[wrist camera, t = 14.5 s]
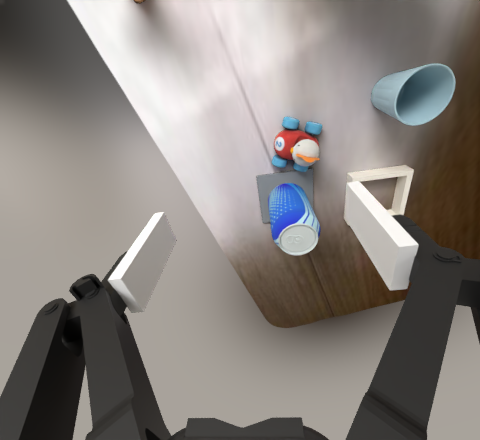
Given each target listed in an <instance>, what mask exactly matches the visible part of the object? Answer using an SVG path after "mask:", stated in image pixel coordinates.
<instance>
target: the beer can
mask: <svg viewBox="0 0 480 440" xmlns="http://www.w3.org/2000/svg"><path fill="white" fill-rule="evenodd" d="M268 207H269V215H270V223H271V231H272V237H273V240H274V242H275V243H276V244H277V245H278V246H279V247H280V248H281V249H282V250H283V251H284V252H285V253H287V254H290V255H303V254H306V253H308V252H310V251H311V250H313V249H314V248H315V246H316V245H317V242H318V238H319V235H320V224H319V222H318V220H317V217H316V215H315V213H314V211H313V209H312V207H311V204H310V202H309V200H308V198H307V196H306V194H305V192H304V190H303V189H302V188H301V187H300V186H298V185H297V184H293V183H284V184H281V185H278V186H277V187H275V188H274V189H273V190H272V191H271V193H270V194H269V197H268Z"/></svg>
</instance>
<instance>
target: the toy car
mask: <svg viewBox="0 0 480 440" xmlns="http://www.w3.org/2000/svg"><path fill="white" fill-rule="evenodd" d="M298 125H299V120H298V119H295V118H292V117H284V119H283V123H282V126H283V127H285V128H288V129H285V130H283V131H281V132H280V133H279V134H278V135H277V136H276V138H275V140H274V149H275V151H276V153H277V154H278V155H275V156H274V157H273V160H272V164H273V165H274V166H277V167H281V168H283V167H285V166H286V164H287V159H289V160H294V161H295V162H294V165H293V168H294V169H295V170H297V171H300V172H306V171H307V170H308V167H309V166H310V165H312V164H314V163H315V162H316V161H317V160H320V159H319V158H318V157H319V154H320V150H319V143H318V140H317V139H316V137H315V136H313V135H312V134H315V135H319V134H320V132H321V129H322V125H321V124H319V123H315V122H307V123H306V126H305V132H304V131H300V130H296V129H297V128H298Z"/></svg>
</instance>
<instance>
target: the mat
mask: <svg viewBox="0 0 480 440" xmlns="http://www.w3.org/2000/svg"><path fill="white" fill-rule="evenodd" d="M256 178H257V185H258V192H259V200H260V207H261V214H262V221H263V223H268V222H270V215H269V207H268V197H269V194H270V193H271V191H272V190H273V189H274V188H275V187H277V186H278V185H281V184H284V183H293V184H297V185H298V186H300V187H301V188H302V189H303V190H304V192H305V194H306V196H307V198H308V200H309V202H310V204H311V207H312V209H313V168H308V170H307V171H306V172H300V171H297V170H293V171H286V172H279V173H273V174H266V175H259V176H256Z"/></svg>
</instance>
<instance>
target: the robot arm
mask: <svg viewBox="0 0 480 440" xmlns="http://www.w3.org/2000/svg"><path fill="white" fill-rule="evenodd" d="M345 218H346V220H347V222H348V223H349V225H350V226H351V228H352V230H353V231H354V233H355V235H356V236H357V238H358V239H359V241H360V243H361V244H362V246H363V248H364V249H365V251H366V252H367V254H368V256H369V257H370V259H371V261H372V262H373V264H374V265H375V267H376V269H377V270H378V272H379V274H380V275H381V277H382V278H383V280H384V282H385V283H386V285H387V287H388V288H389V290H401V289H407V287H408V284H409V280H410V282H411V283H412V285H411V287H410V290H409V292H408V295H407V297H406V299H405V302H404V304H403V307H402V309H401V312H400V314H399V317H398V319H397V321H396V324H395V326H394V329H393V331H392V333H391V336H390V338H389V341H388V343H387V346H386V348H385V351H384V353H383V355H382V358H381V360H380V363H379V365H378V368H377V370H376V372H375V375H374V377H373V380H372V382H371V385H370V387H369V389H368V391H367V392H366V393H365V396H364V397H363V400H362V402H361V404H360V406H359V409H358V411H357V414H356V416H355V418H354V421H353V423H352V426H351V428H350V430H349V433H348V435H347V438H346V440H427V425H428V421H429V416H430V412H431V408H432V404H433V400H434V395H435V391H436V387H437V382H438V378H439V374H440V370H441V365H442V361H443V357H444V353H445V349H446V345H447V340H448V336H449V332H450V328H451V323H452V319H453V315H454V310H455V307H456V305H463V306H469V307H471V310H472V314H473V318H474V322H475V326H476V331H477V335H478V339H479V343H480V260H477V259H467V258H464V257H463V256H462V255H461V254H460V253H458V252H457V251H455V250H452V249H449V248H444V247H440V246H439V245H438V244H436V243H435V242H434V241H433V240H432V239H431V238H430V237H429V236H428V235H427V234H426V233H425V232H424V231H422V229H421V228H420V227H419V226H417V225H416V224H415V223H414V222H413V221H412V220H411V219H410V218H408V217H406V216H404V215H401V214H399V215H392V216H391V215H390V214H389V213H388V212H387V210H386V209H385V208H384V207H383V206H382V205H381V204H380V203H379V202H378V201H377V200H376V199H375V198H374V197H373V196H372V195H371V194H370V192H369V191H368V190H367V189H366V188H365V187H364V186H363V185H362V184H361V183H360V182H359V181H355V182H349V183H346V206H345ZM176 241H177V240H176V238H175V236H174V233H173V231H172V229H171V227H170V224H169V222H168V220H167V218H166V216H165V213H164V212H161V213H155V214H154V215H153V217H152V218H151V219H150V221H149V222H148V224H147V225H146V227H145V228H144V229H143V231H142V232H141V234H140V235H139V237H138V238H137V239H136V241H135V242H134V244H133V245H132V246H131V248H130V249H129V251H128V252H125V253H124V254H123V255H121V256H120V257H119V258H118V260H117V261H116V263H115V264H114V265H113V267H112V269H111V270H110V271H109V272H108V274H107V275H106V276H105V278H104V279H103V280H102V282H100V281H99V279H98V278H97V277H96V275H94V274H90V275H86V276H84V277H82V278H80V279H78V280H77V281H76V282H75V283H73V284H72V286H71V287H70V290H69V291H70V292H71V293H72V295H73V296H74V297H75V298H76V299H77V300H76V301H73V302H71V303H67V302H66V301H65V300H64V299H63V298H60V299H56V300H53V301H51V302H49V303H48V304H46V305H45V306H44V307H43V308H42V309H41V310H40V311H39V313H38V314H37V316H36V318H35V321H34V323H33V325H32V327H31V330H30V332H29V334H28V336H27V339H26V341H25V343H24V345H23V347H22V350H21V352H20V354H19V357H18V359H17V361H16V363H15V365H14V368H13V370H12V372H11V374H10V377H9V379H8V381H7V383H6V386H5V388H4V390H3V392H2V395H1V397H0V440H72V439H73V433H74V427H75V421H76V416H77V410H78V405H79V398H80V393H81V387H82V382H83V376H84V370H85V365H86V371H87V379H88V389H89V397H90V406H91V415H92V423H93V429H92V431H91V432H89V433H88V434H87V436H86V439H85V440H328V439H327V438H326V437H325V436H323V435H322V434H320V433H319V432H317V431H315V430H313V429H311V428H309V427H306V426H303V423H302V418H270V419H267V420H265V421H262V422H259V423H256V424H253V425H250V426H247V427H244V428H240V427H237V426H234V425H232V424H229V423H226V422H224V421H221V420H218V419H215V418H188V422H187V426H186V428H184V429H182V430H180V431H178V432H177V433H175V434H174V435H173V436H171V435H170V433H169V431H168V429H167V428H166V426H165V424H164V421H163V418H162V415H161V413H160V410H159V407H158V404H157V401H156V398H155V395H154V393H153V390H152V387H151V384H150V381H149V378H148V376H147V373H146V370H145V367H144V364H143V361H142V358H141V356H140V353H139V350H138V347H137V344H136V342H135V339H134V336H133V333H132V330H131V327H130V324H129V322H128V319H127V316H126V315H125V313H124V311H125V309H126V307H128V308H129V310H130V311H131V312H132V313H135V312H144V310H145V308H146V306H147V303H148V301H149V299H150V297H151V295H152V293H153V291H154V288H155V286H156V284H157V282H158V280H159V278H160V275H161V273H162V271H163V269H164V267H165V265H166V263H167V260H168V258H169V256H170V254H171V252H172V250H173V247H174V245H175V243H176Z"/></svg>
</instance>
